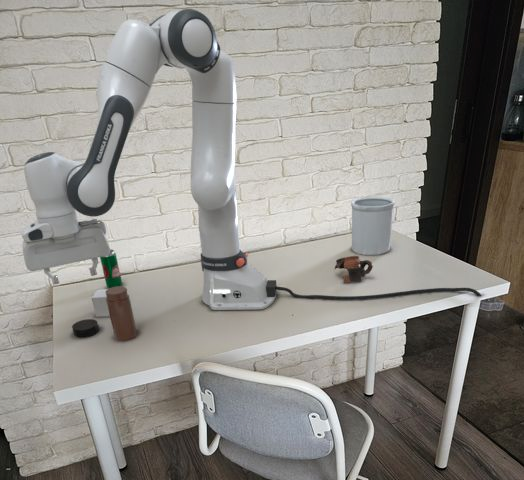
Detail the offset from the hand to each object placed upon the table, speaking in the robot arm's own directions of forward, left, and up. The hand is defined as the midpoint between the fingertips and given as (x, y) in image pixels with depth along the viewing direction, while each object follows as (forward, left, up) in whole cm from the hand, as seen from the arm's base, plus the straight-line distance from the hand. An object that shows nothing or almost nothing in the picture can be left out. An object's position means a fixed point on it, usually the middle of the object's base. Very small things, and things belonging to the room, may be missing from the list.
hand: (75, 279), depth 122 cm
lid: (0, +1, -13) cm, 13 cm away
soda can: (+10, -30, -15) cm, 36 cm away
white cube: (+1, -12, -15) cm, 20 cm away
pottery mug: (-66, -48, -15) cm, 83 cm away
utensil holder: (-69, -77, -15) cm, 105 cm away
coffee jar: (-12, +1, -15) cm, 19 cm away
